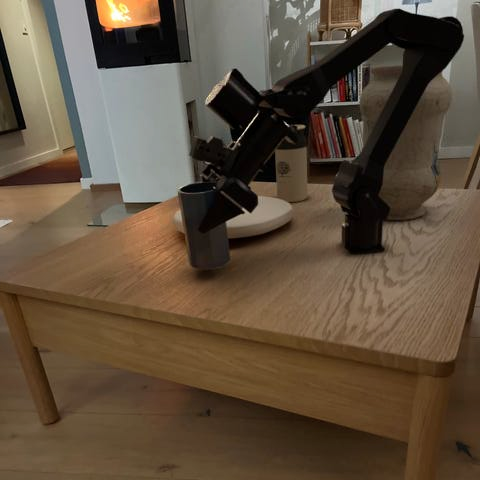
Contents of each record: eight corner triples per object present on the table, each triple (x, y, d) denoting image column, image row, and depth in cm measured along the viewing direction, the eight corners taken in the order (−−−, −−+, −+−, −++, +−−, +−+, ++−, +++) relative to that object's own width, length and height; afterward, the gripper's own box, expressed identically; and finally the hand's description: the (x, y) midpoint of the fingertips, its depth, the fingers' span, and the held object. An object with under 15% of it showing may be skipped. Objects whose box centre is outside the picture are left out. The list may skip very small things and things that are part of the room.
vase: (424, 200, 115) (437, 59, 101) (451, 220, 99) (472, 57, 85) (349, 205, 116) (352, 67, 102) (364, 227, 100) (370, 67, 86)
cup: (229, 251, 87) (221, 179, 80) (231, 267, 80) (222, 190, 74) (190, 255, 87) (178, 184, 80) (188, 271, 80) (176, 195, 74)
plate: (193, 193, 120) (298, 190, 115) (195, 219, 123) (298, 217, 117) (152, 212, 95) (284, 209, 89) (156, 244, 98) (285, 243, 92)
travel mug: (294, 193, 131) (292, 124, 123) (313, 198, 125) (312, 125, 117) (271, 199, 128) (267, 128, 119) (290, 204, 122) (287, 129, 113)
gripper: (204, 111, 81) (151, 185, 84) (229, 118, 65) (163, 210, 68) (252, 153, 86) (200, 222, 89) (286, 169, 70) (222, 253, 73)
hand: (196, 225), depth 80 cm, fingers closed on cup, 7 cm apart
